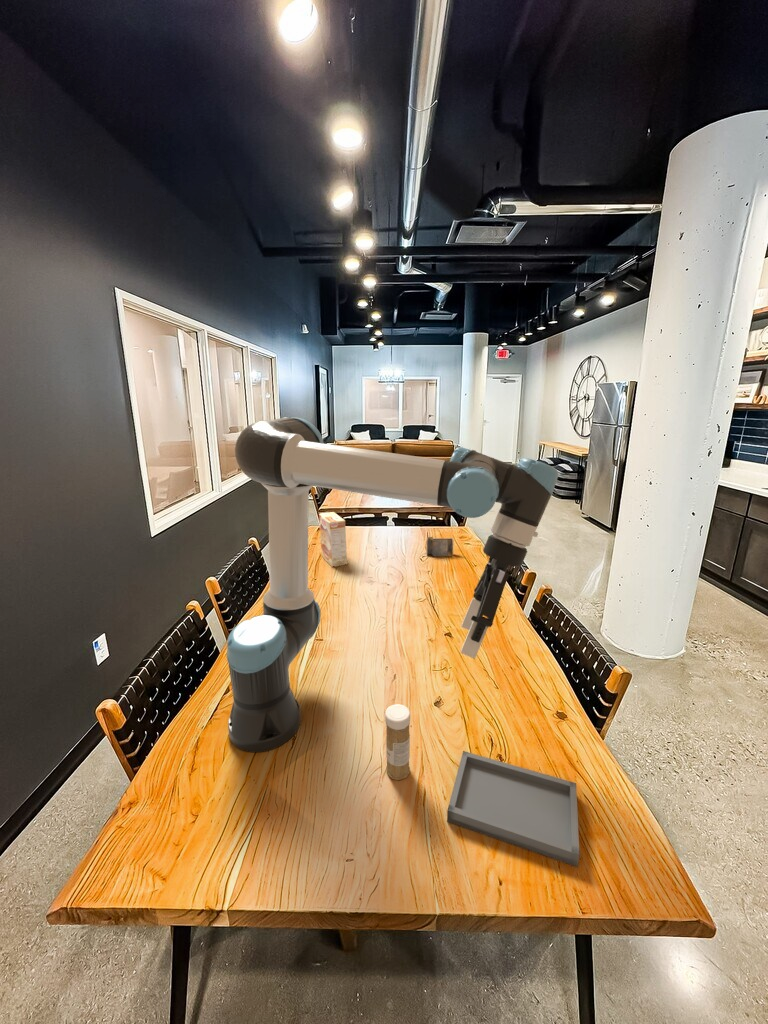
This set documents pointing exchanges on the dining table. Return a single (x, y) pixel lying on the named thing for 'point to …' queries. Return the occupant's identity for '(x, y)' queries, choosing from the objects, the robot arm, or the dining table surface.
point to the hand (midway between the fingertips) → (467, 641)
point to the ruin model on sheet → (440, 546)
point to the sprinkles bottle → (397, 741)
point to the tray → (516, 807)
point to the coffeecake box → (333, 538)
